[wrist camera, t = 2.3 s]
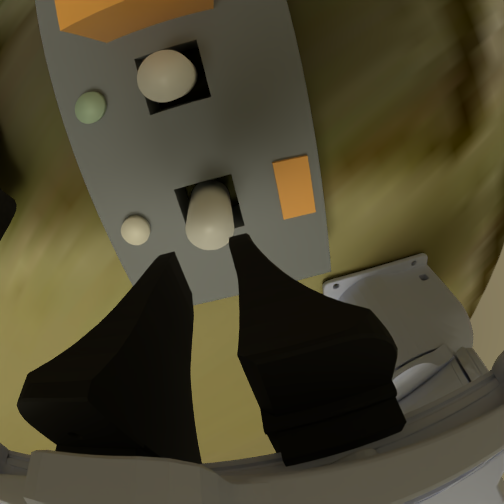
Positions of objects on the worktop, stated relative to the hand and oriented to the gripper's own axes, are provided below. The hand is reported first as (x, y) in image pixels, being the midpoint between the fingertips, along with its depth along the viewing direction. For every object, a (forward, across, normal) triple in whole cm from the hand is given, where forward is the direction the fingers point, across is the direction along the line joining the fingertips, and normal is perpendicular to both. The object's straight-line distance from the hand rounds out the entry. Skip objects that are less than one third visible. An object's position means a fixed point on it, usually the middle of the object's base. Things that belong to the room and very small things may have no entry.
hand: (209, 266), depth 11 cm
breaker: (+7, 0, -7) cm, 10 cm away
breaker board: (+8, 0, -5) cm, 10 cm away
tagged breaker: (+7, 0, 0) cm, 7 cm away
